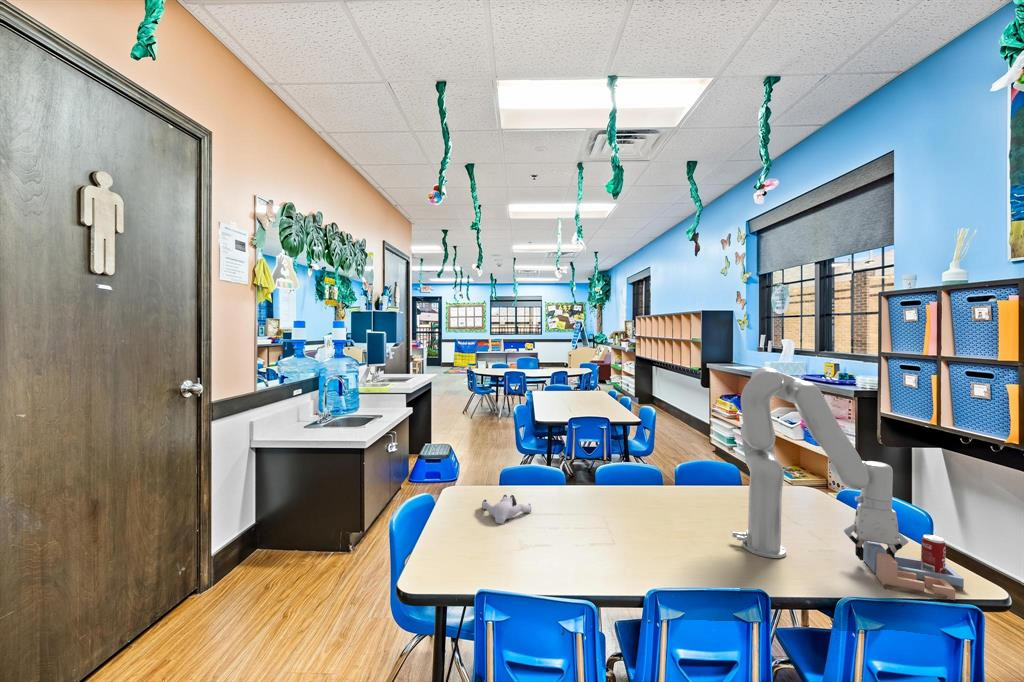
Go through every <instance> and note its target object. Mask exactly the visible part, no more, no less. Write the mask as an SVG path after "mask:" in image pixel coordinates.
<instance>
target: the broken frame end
mask: <svg viewBox="0 0 1024 682" xmlns="http://www.w3.org/2000/svg"><path fill="white" fill-rule="evenodd" d="M924 583H925V589H931V593H936V594H941V595H946V596H947V600H953V601H956V590H955V589H954V588H953V587H952V586H951V585H950V584H949V583H948V582H947V581H945V580H944V579H939V578H934V577H928V576H924Z"/></svg>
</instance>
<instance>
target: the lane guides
mask: <svg viewBox="0 0 1024 682" xmlns="http://www.w3.org/2000/svg"><path fill="white" fill-rule="evenodd" d="M917 580H918V581H923V582H924V580H921V579H917ZM883 586H884V589H887V590H891V591H896V592H903V593H907V594H912V595H917V596H923V597H928V598H934V599H939V600H945V601H948V599H947V596H946V595H941V594H936V593H932V592H930V591H929V592H928V591H925V590H924V591H920V590H914V589H909V588H903V587H898V586H893V585H887V584H885V585H883ZM951 586H952V587H953V588H954V589H955V591H959V590H961V591H960V592H964V589H963V587H961V586H955V585H951Z"/></svg>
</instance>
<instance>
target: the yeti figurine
mask: <svg viewBox="0 0 1024 682" xmlns="http://www.w3.org/2000/svg"><path fill="white" fill-rule="evenodd" d="M517 503H518V502H517V499H516V498H515V495H513V494H511V495H510V496H509V497H508V496H507V494H504V495H503V497H502V498H501V499H500V500H499V502H497V503H496V504H494V505H493V504H491V503H490V502H489V501H487V499H484V500H483V501H482V503H481V508H482V509H483V510H487V511H488V513H489V515H490V516H492V517H494V520H495V523H496V524H498V525H499V524H500V525H503V524H504V523H505V521H506V520H508V519H511V518H514V516H516V515H517V514H519V513H520V512H522V513H524V514H531V512H532V505H531V503H528V504H523V503H520V504H517Z"/></svg>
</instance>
